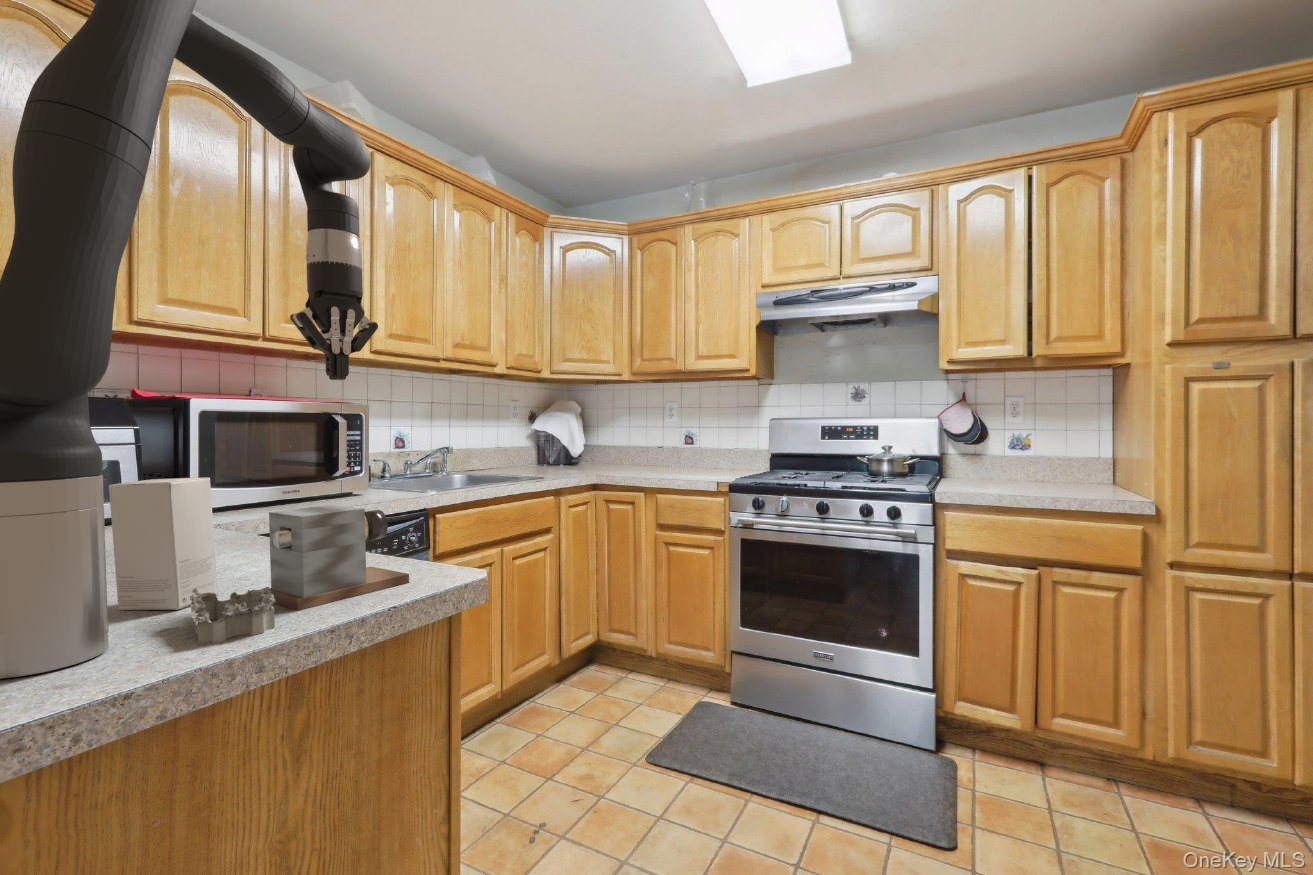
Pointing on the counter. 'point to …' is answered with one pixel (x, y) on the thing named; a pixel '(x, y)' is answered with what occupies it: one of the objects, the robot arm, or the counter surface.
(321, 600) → the bearing block
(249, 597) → the egg carton
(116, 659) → the counter surface
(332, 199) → the robot arm
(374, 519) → the shaft
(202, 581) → the skincare box
